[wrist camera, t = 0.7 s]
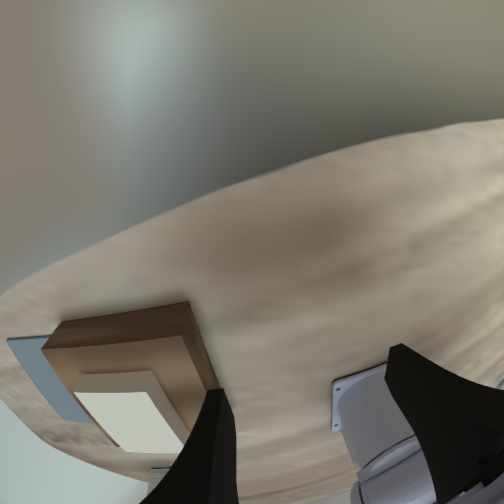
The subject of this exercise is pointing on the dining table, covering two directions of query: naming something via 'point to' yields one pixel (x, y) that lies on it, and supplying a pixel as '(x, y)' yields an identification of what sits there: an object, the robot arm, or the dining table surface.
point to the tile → (133, 411)
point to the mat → (46, 377)
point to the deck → (137, 354)
